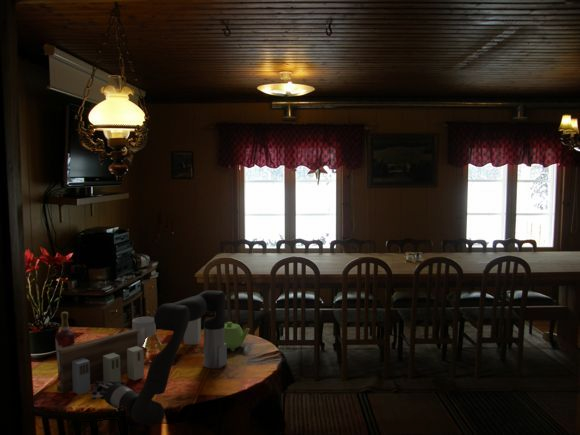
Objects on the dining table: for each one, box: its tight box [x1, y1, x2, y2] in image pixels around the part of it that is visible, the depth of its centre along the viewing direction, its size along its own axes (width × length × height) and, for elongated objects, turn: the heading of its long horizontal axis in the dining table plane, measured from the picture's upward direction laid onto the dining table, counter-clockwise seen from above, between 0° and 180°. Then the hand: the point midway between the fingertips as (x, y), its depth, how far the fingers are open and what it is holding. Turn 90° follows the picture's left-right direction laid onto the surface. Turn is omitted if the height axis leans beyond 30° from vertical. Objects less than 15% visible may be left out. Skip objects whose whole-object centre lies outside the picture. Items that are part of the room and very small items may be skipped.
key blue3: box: [72, 358, 91, 396], centre depth 183 cm, size 5×4×12 cm
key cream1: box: [126, 346, 145, 381], centre depth 197 cm, size 5×4×12 cm
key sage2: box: [103, 353, 122, 383], centre depth 189 cm, size 5×4×12 cm
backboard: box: [56, 329, 139, 395], centre depth 195 cm, size 6×33×17 cm, turn 140°
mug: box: [131, 316, 157, 348], centre depth 234 cm, size 15×11×13 cm
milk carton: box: [183, 317, 202, 345], centre depth 240 cm, size 7×7×19 cm
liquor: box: [54, 311, 76, 382], centre depth 194 cm, size 7×7×28 cm
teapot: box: [225, 321, 250, 352], centre depth 233 cm, size 20×13×13 cm
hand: (96, 383), depth 175 cm, fingers closed
